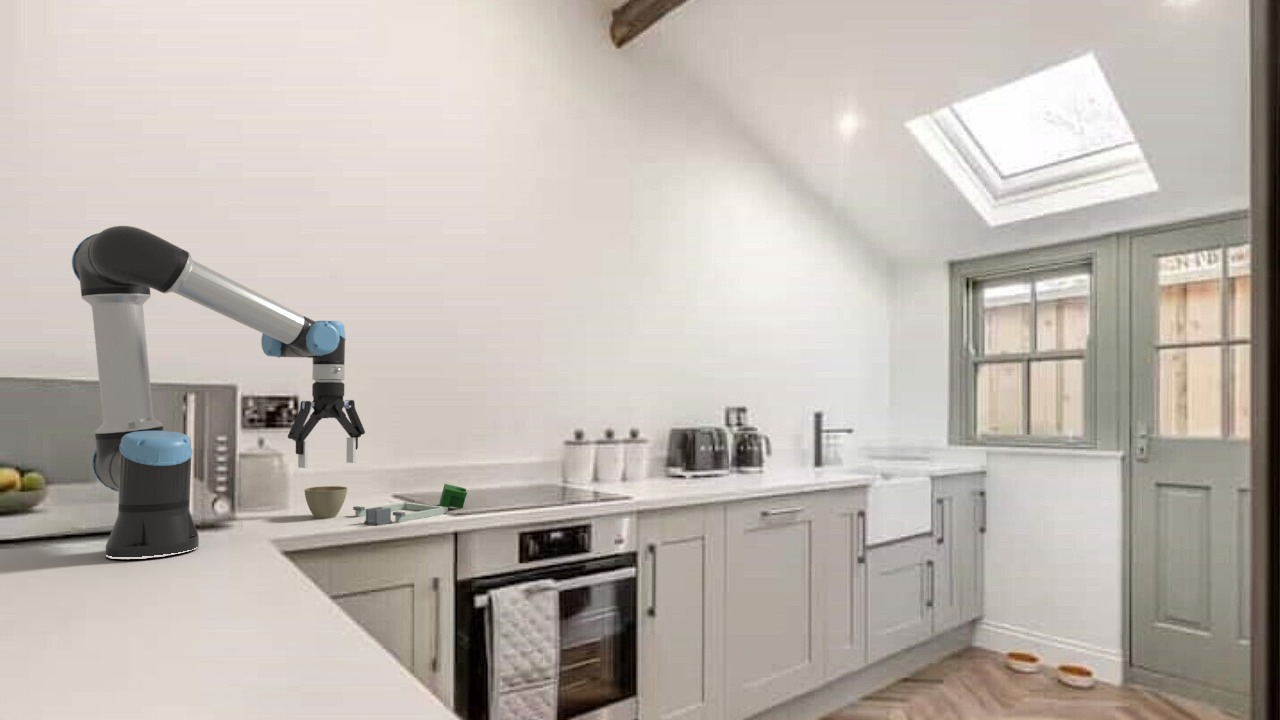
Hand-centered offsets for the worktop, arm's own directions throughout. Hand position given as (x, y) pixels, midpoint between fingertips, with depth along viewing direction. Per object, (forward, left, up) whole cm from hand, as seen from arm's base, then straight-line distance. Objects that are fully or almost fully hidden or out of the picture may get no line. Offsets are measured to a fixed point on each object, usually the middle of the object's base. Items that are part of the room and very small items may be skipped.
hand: (327, 465), depth 181 cm
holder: (+12, -14, -13) cm, 22 cm away
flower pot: (0, 0, -13) cm, 13 cm away
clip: (+1, -19, -13) cm, 23 cm away
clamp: (+28, -16, -13) cm, 35 cm away
